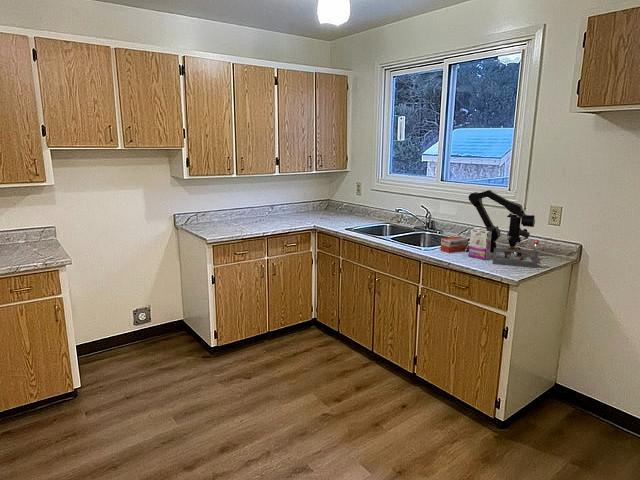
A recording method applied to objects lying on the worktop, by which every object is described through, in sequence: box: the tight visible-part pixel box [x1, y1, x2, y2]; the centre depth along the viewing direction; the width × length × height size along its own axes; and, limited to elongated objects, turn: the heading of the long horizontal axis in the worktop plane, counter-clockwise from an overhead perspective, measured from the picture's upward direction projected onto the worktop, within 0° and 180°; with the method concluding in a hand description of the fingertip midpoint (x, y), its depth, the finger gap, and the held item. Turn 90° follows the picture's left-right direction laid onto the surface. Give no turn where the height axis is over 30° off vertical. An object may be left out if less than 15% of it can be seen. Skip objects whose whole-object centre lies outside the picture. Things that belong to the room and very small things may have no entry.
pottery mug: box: [503, 245, 524, 261], centre depth 247 cm, size 12×10×8 cm
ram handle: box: [530, 239, 540, 258], centre depth 244 cm, size 3×3×10 cm
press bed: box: [492, 247, 539, 269], centre depth 233 cm, size 22×6×9 cm, turn 69°
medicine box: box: [440, 236, 469, 254], centre depth 264 cm, size 15×8×8 cm, turn 114°
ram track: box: [529, 255, 541, 264], centre depth 243 cm, size 4×14×1 cm, turn 159°
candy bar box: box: [468, 228, 492, 261], centre depth 246 cm, size 11×5×16 cm, turn 40°
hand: (512, 250), depth 254 cm, fingers closed
